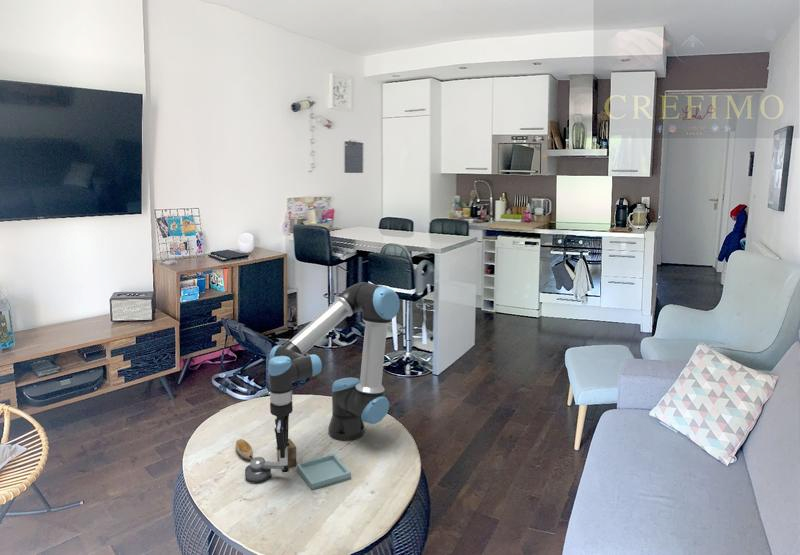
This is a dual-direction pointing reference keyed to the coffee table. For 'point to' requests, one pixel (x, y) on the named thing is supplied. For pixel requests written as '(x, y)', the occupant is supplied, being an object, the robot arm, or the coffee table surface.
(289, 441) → the stop block
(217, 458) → the coffee table surface
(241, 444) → the sweet potato
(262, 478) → the crank base
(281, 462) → the robot arm
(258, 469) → the crank
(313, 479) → the tray
